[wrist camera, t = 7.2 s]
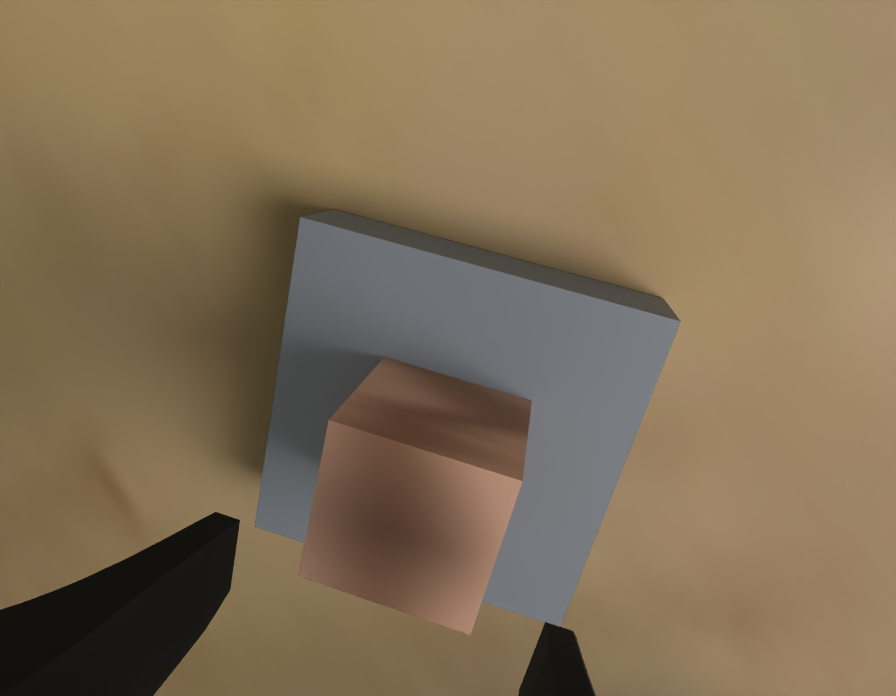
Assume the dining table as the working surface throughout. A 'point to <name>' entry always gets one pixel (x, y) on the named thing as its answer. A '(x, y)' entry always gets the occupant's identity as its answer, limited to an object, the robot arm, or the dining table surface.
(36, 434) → the dining table surface
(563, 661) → the robot arm
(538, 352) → the slate block
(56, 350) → the dining table surface
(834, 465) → the dining table surface
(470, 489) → the terracotta cube
